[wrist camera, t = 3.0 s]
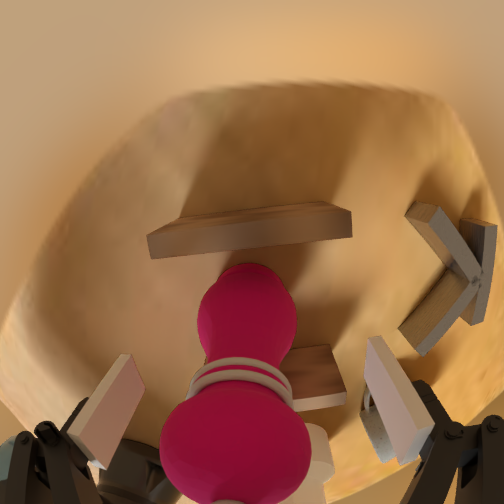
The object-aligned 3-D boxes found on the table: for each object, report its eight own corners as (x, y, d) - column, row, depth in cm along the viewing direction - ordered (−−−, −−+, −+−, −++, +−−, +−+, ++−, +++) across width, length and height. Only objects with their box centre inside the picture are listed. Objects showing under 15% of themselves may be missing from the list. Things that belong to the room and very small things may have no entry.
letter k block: (396, 339, 25) (412, 360, 21) (403, 201, 22) (427, 207, 18) (460, 321, 25) (478, 337, 21) (472, 198, 21) (497, 203, 17)
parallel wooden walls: (209, 367, 26) (197, 416, 20) (178, 218, 23) (146, 235, 16) (328, 356, 26) (345, 404, 19) (324, 201, 22) (351, 211, 15)
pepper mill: (211, 251, 23) (82, 470, 4) (297, 262, 23) (386, 498, 4) (206, 326, 25) (138, 536, 6) (283, 335, 25) (308, 553, 6)
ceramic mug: (421, 401, 28) (444, 438, 20) (369, 430, 29) (383, 472, 22) (407, 352, 26) (438, 394, 18) (344, 388, 27) (361, 438, 20)
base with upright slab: (337, 442, 30) (353, 512, 18) (281, 464, 31) (284, 531, 20) (308, 412, 28) (322, 497, 16) (245, 437, 29) (240, 516, 18)
